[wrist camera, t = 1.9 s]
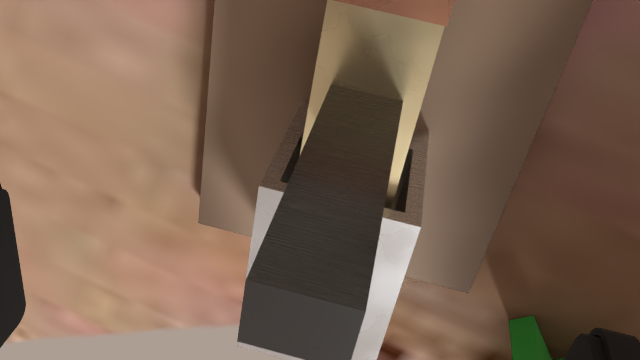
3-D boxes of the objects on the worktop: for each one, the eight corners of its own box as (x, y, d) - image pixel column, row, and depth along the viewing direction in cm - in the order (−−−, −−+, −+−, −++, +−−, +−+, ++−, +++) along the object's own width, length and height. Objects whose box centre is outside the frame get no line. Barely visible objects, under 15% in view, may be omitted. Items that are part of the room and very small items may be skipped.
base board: (722, -338, 15) (740, -347, 14) (467, 274, 27) (468, 293, 26) (260, -424, 16) (247, -439, 15) (207, 207, 28) (198, 223, 27)
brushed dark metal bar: (458, -43, 17) (459, 148, 8) (362, 289, 24) (305, 589, 15) (351, -67, 17) (230, 92, 8) (287, 269, 25) (186, 554, 15)
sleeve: (429, 131, 22) (421, 227, 17) (385, 271, 26) (368, 382, 21) (301, 100, 23) (258, 186, 18) (277, 243, 26) (236, 346, 22)
